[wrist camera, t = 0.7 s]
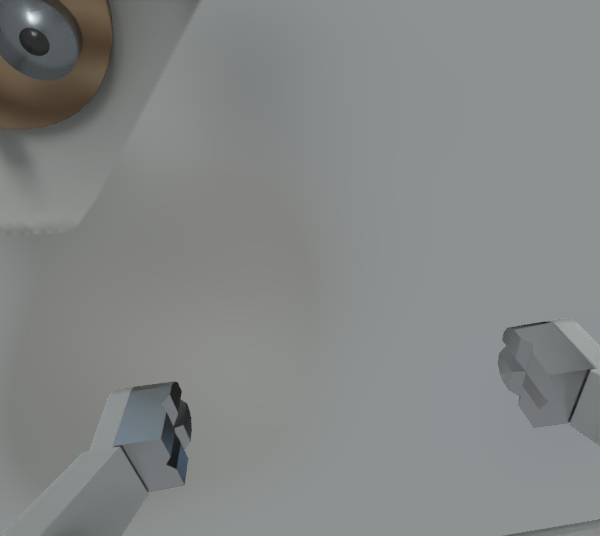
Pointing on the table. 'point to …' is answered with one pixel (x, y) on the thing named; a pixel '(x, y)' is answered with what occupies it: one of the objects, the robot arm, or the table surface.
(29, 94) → the turntable
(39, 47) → the pot lid
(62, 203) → the table surface
